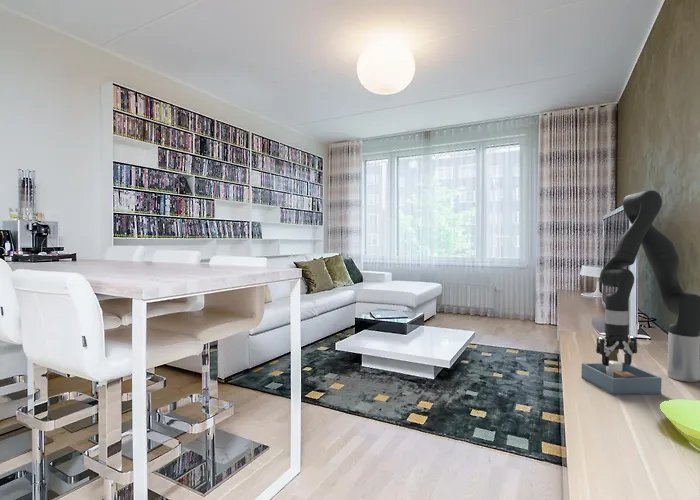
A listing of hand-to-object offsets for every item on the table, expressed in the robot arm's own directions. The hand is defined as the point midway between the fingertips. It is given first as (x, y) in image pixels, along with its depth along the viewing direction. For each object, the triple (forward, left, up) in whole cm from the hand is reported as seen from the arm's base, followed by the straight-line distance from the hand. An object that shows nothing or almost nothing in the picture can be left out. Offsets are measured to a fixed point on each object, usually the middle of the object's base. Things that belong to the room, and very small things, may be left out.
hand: (616, 365), depth 145 cm
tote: (0, +2, -7) cm, 7 cm away
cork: (-7, -12, -7) cm, 15 cm away
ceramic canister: (+1, -1, -6) cm, 6 cm away
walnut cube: (+1, +6, -6) cm, 9 cm away
